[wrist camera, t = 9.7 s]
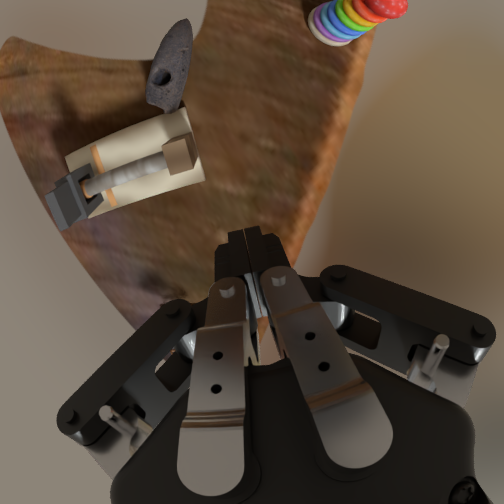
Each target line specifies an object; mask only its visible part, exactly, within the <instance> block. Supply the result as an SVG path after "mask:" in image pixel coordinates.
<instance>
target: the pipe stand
mask: <svg viewBox="0 0 504 504" xmlns="http://www.w3.org/2000/svg"><path fill="white" fill-rule="evenodd" d="M65 160H66V162H67V165H68V168H69V171H70V173H71V172H72V171H74V170H76V169H78V168H80V167H82V166H84V165H86V164H88V163H90V164H91V167H92V170H93V172H94V175H95V177H93V178H90V179H86V180H83V181H81V182H79V185H80V187H81V190H82V192H83V195H84V197H85V200H86V199H88V198H90V197H92V196H93V195H95V194H97V193H100V192H101V194H102V196H103V199H104V201H103V202H102V203H101V204H100V205H99V206H98V207H97V208H96V209H95V210H94V211H93V212H92V213H91V214H90V215H89V217H88V218H91V217H94V216H96V215H99V214H102V213H104V212H107V211H110V210H113V209H115V208H118V207H121V206H124V205H127V204H130V203H132V202H135V201H138V200H141V199H144V198H147V197H151V196H154V195H157V194H160V193H163V192H166V191H170V190H173V189H176V188H180V187H183V186H187V185H190V184H194V183H197V182H201V181H204V180H205V179H206V178H205V175H204V171H203V168H202V164H201V161H200V157H199V153H198V150H197V146H196V143H195V139H194V135H193V132H192V128H191V124H190V121H189V117H188V113H187V109H186V107H184V108H181V109H177V111H176V112H174V113H172V114H162V115H159V116H156V117H153V118H151V119H148V120H145V121H142V122H140V123H137V124H135V125H132V126H130V127H127V128H125V129H122V130H120V131H117V132H115V133H113V134H110V135H108V136H106V137H104V138H101V139H99V140H97V141H95V142H93V143H91V144H89V145H87V146H85V147H83V148H81V149H79V150H77V151H75V152H73V153H71V154H69V155H67V156H65Z"/></svg>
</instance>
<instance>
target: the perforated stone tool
mask: <svg viewBox="0 0 504 504" xmlns="http://www.w3.org/2000/svg"><path fill="white" fill-rule="evenodd" d="M192 42H193V34H192V27H191V24H190V22H189V20H188V19H183V20H180V21H178V22H177V23H175V24H174V25H173V27H172V28H171V29H170V30H169V31H168V33H167V34H166V35H165V37H164V38H163V40H162V42H161V44H160V47H159V49H158V51H157V53H156V55H155V57H154V60H153V63H152V66H151V70H150V74H149V77H148V81H147V84H146V90H145V92H146V99H147V103H149V104H151V105H156V106H158V107H160V108H162V109H163V111H164V113H165V114H172V113H174V112H176V111H177V109H178V107H179V104H180V101H181V98H182V94H183V90H184V87H185V83H186V79H187V75H188V70H189V65H190V59H191V52H192Z"/></svg>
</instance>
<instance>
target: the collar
mask: <svg viewBox="0 0 504 504" xmlns="http://www.w3.org/2000/svg"><path fill="white" fill-rule="evenodd" d="M93 177H95V175H94V172H93V170H92V167H91V164H90V163H88V164H86V165H84V166H82V167H80V168H78V169H76V170H74V171H72V172H71V173H69V174H67V175H66V176H64V177H62V178H61V179H59V180H58V181H56V182H55V185H56V188H55V189H54V190H52V191H51V192H49V193H48V194H47V195H45V198H46V201H47V203H48V205H49V208H50V210H51V212H52V215H53V217H54V219H55V221H56V223H57V225H58V228H59V230H60V231H62V230H65V229H67V228H69V227H70V226H71V225H72V224H73V223H75V222H77V221H80V220H82V219H85V218H87V217H89V215H90V214H91V213H92V212H93V211H94V210H95V209H96V208H97V207H98V206H99V205H100V204H101V203H102V202H103V201H104V199H103V196H102V194H101V192H100V193H97V194H95V195H93V196H92V197H90V198H88V199H86V200H85V197H84V195H83V192H82V190H81V187H80V185H79V182H81V181H83V180H86V179H90V178H93Z"/></svg>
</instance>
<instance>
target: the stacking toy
mask: <svg viewBox="0 0 504 504" xmlns="http://www.w3.org/2000/svg"><path fill="white" fill-rule="evenodd" d="M407 8H408V3H407V0H333V1H331V2H326V3H323V4H321V5H319V6H317V7H316V8H314V9H313V10H312V11H311V12H310V14H309V17H308V25H309V28H310V30H311V32H312V33H313V35H314V36H315V37H316V38H317V39H319V40H320V41H322V42H323V43H325V44H328V45H331V46H343V45H346V44H348V43H350V42H351V41H352V40H353V39H355V38H357V37H359V36H360V35H362V34H364V33H365V32H366V31H368V30H370V29H372V28H373V27H374V26H375V25H377V24H378V23H382V22H384V21H385V20H387V19H388V18H389V19H394V18H399V17H401V16H402V15H404V14H405V12H406V11H407Z"/></svg>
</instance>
